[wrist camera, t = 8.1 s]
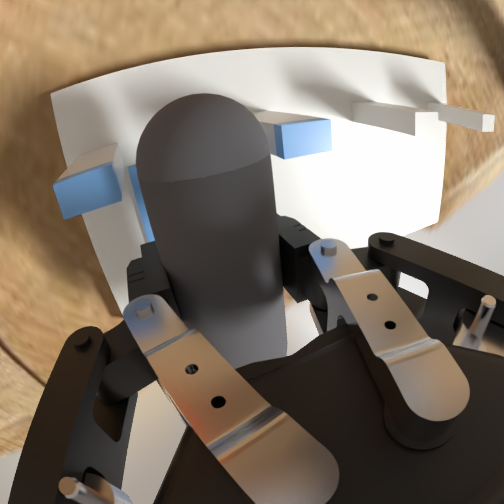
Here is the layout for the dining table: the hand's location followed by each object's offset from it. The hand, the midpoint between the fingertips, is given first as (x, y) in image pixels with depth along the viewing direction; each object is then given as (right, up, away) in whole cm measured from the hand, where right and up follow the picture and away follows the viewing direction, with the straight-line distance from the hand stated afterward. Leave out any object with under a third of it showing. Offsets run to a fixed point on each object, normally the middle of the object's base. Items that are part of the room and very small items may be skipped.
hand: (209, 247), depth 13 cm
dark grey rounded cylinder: (0, 0, 0) cm, 0 cm away
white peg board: (+5, +5, +6) cm, 9 cm away
